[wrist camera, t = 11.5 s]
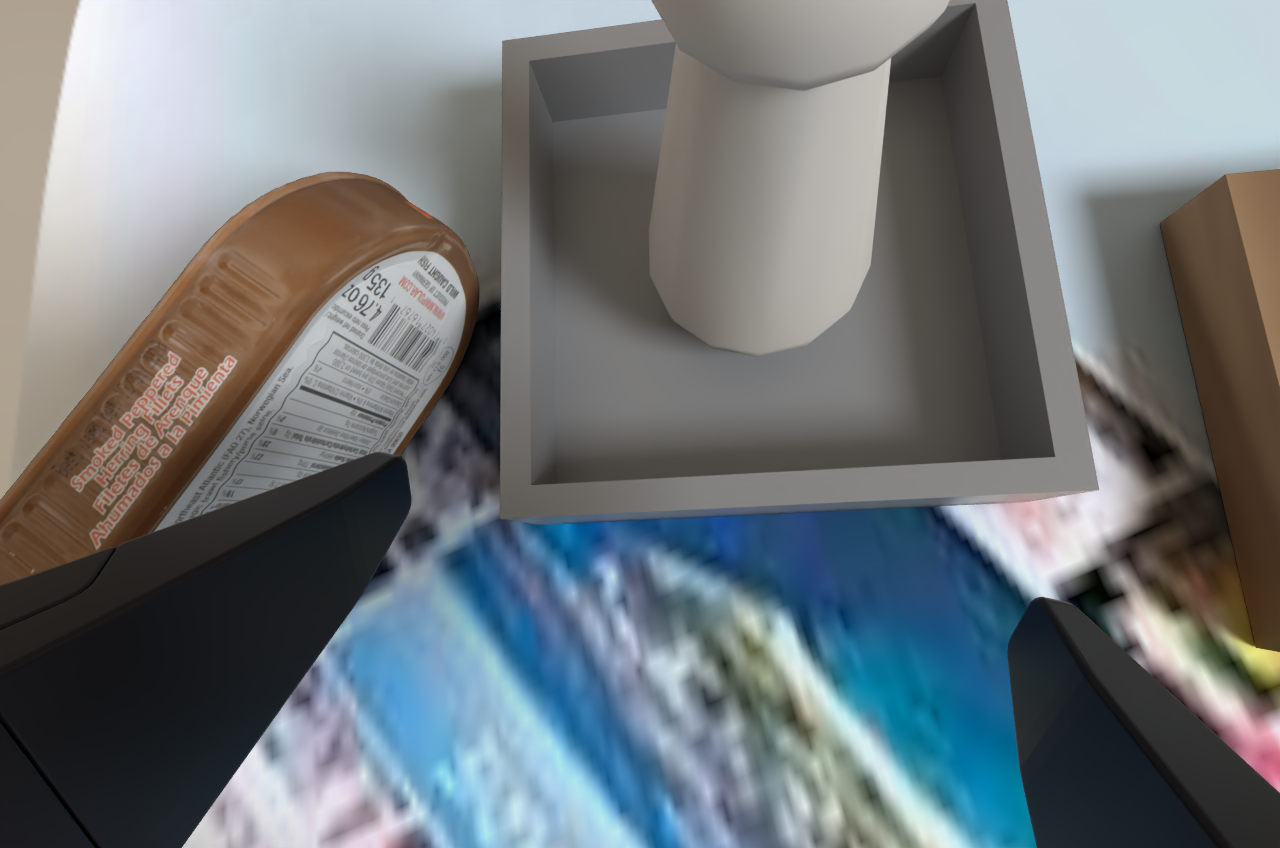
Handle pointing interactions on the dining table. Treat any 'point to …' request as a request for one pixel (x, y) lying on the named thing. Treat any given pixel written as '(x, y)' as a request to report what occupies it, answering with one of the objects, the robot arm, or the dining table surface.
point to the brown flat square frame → (1238, 365)
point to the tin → (255, 370)
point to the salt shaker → (772, 163)
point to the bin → (797, 378)
